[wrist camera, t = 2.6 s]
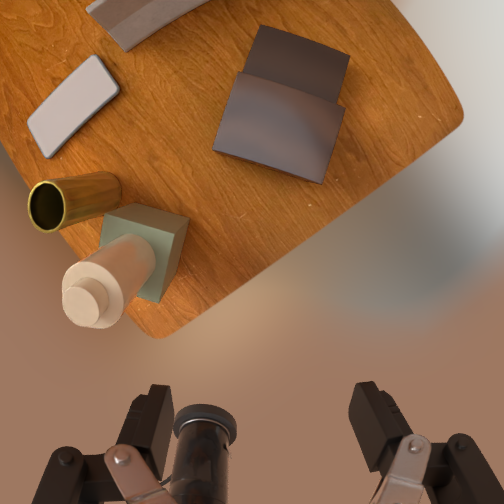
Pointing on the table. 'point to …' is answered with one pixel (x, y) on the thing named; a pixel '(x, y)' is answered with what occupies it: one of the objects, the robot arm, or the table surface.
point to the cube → (150, 241)
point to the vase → (72, 200)
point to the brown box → (285, 106)
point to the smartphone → (72, 105)
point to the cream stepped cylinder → (107, 281)
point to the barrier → (137, 17)
